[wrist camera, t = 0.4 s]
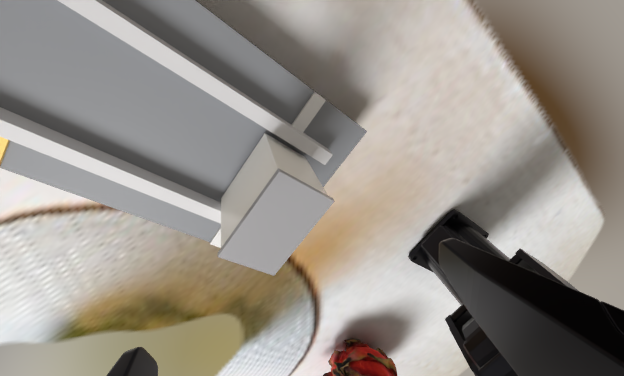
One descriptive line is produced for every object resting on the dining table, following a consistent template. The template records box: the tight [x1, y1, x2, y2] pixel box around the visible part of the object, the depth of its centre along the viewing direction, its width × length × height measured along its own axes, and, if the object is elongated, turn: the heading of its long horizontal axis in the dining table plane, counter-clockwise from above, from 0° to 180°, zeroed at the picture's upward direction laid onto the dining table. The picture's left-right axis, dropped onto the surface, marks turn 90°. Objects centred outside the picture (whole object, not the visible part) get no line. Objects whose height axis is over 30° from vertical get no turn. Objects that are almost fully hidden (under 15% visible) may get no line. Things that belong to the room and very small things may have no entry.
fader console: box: [0, 0, 367, 248], centre depth 15 cm, size 22×12×3 cm, turn 53°
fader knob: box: [218, 133, 334, 275], centre depth 16 cm, size 3×5×5 cm, turn 143°
